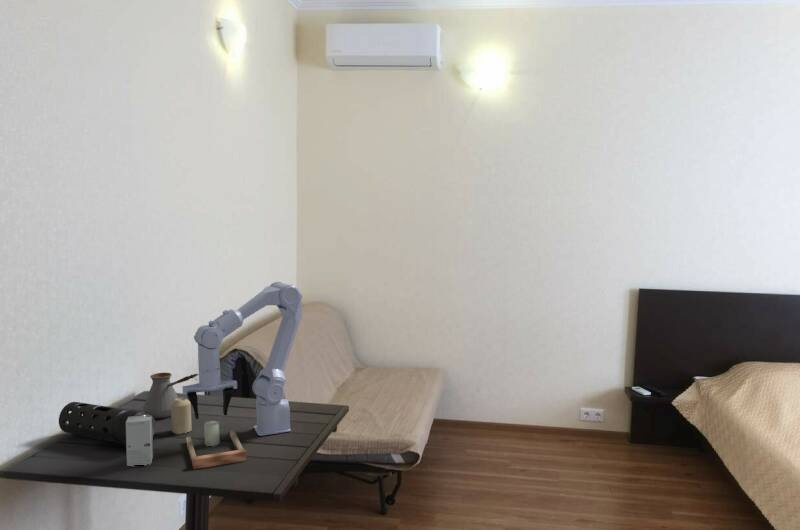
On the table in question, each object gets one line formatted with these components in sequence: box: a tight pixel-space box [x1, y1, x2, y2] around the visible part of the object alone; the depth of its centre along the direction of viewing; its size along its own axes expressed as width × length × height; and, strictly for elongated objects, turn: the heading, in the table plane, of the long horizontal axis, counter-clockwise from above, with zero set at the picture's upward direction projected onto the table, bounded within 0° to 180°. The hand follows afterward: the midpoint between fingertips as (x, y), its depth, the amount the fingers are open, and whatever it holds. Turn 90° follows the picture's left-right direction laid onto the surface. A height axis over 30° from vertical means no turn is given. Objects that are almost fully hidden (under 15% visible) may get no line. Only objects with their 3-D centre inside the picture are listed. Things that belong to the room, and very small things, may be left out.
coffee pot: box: [143, 372, 199, 419], centre depth 209 cm, size 21×12×15 cm, turn 64°
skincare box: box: [125, 416, 154, 467], centre depth 172 cm, size 6×4×12 cm
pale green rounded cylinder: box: [203, 420, 221, 447], centre depth 186 cm, size 4×4×6 cm
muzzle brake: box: [58, 401, 157, 447], centre depth 188 cm, size 10×28×10 cm, turn 67°
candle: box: [170, 397, 193, 435], centre depth 195 cm, size 6×6×10 cm
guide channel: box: [185, 430, 248, 470], centre depth 180 cm, size 13×20×2 cm
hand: (211, 416), depth 185 cm, fingers open, 7 cm apart
